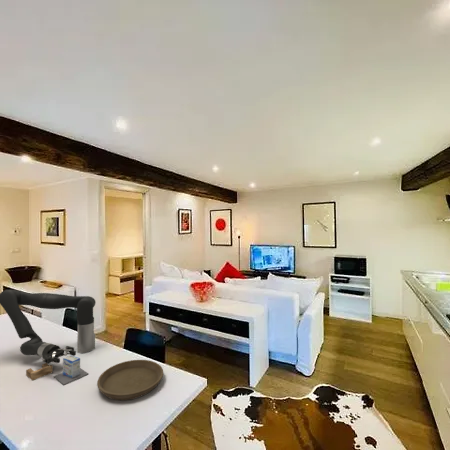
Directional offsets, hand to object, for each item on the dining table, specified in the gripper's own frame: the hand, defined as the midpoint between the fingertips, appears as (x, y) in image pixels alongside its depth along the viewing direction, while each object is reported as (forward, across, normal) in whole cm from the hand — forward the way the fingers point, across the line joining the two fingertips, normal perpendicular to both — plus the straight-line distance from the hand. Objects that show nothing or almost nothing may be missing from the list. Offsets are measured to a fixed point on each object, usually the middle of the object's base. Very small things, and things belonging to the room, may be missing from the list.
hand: (67, 357), depth 138 cm
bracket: (-13, -6, +9) cm, 17 cm away
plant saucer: (+37, +9, +10) cm, 39 cm away
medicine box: (+4, 0, +8) cm, 9 cm away
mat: (+4, 0, +9) cm, 10 cm away
